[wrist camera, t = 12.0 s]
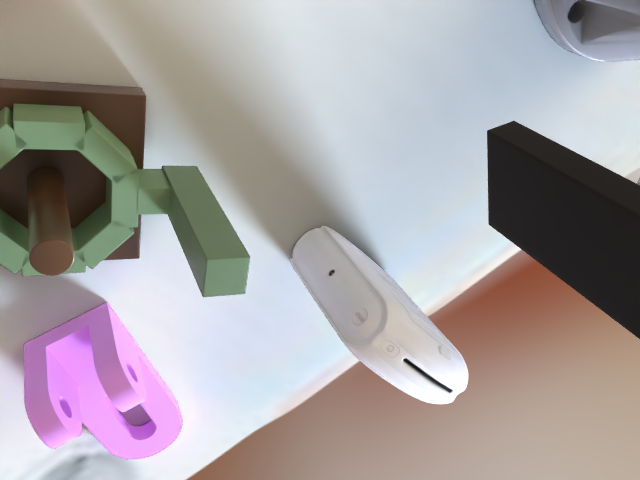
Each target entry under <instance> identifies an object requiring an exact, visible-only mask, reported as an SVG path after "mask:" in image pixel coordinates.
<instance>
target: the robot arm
mask: <svg viewBox="0 0 640 480" xmlns="http://www.w3.org/2000/svg"><path fill="white" fill-rule="evenodd" d="M535 4H536V8H537V11H538V14H539V17H540V19H541V21H542V24H543V25H544V27H545V29H546V31H547V32H548V33H549V35H550V36H551V37H552V39H553V40H555V41H556V42H557V43H558V44H559V45H560V46H562V47H563V48H564V49H566V50H568V51H570V52H572V53H575V54H578V55H581V56H584V57H587V58H590V59H593V60H598V61H613V62H615V61H630V60H640V0H535ZM487 145H488V209H489V225H490V226H492V227H493V228H494V229H496V230H497V231H498V232H500V233H501V234H502V235H503V236H505V237H506V238H507V239H509V240H510V241H511V242H513V243H514V244H515V245H517V246H518V247H519V248H521V249H522V250H523V251H525V252H526V253H527V254H529V255H530V256H531V257H533V258H534V259H535V260H537V261H538V262H539V263H540V264H542V265H543V266H544V267H546V268H547V269H548V270H550V271H551V272H552V273H554V274H555V275H556V276H557V277H559V278H560V279H561V280H563V281H564V282H565V283H567V284H568V285H570V286H571V287H572V288H573V289H575V290H576V291H577V292H579V293H580V294H581V295H582V296H584V297H585V298H587V299H588V300H589V301H590V302H592V303H593V304H594V305H596V306H597V307H599V308H600V309H601V310H602V311H604V312H605V313H606V314H608V315H609V316H610V317H612V318H613V319H614V320H615V321H617V322H618V323H619V324H621V325H622V326H623V327H625V328H626V329H627V330H629V331H630V332H631V333H633V334H634V335H635V336H636V337H638V338H639V339H640V178H639V180H638V182H637V184H635V183H634V182H632V181H630V180H628V179H626V178H624V177H622V176H620V175H618V174H616V173H615V172H613V171H611V170H609V169H607V168H605V167H603V166H601V165H599V164H597V163H595V162H593V161H591V160H589V159H587V158H585V157H583V156H581V155H579V154H577V153H576V152H574V151H572V150H570V149H568V148H566V147H564V146H562V145H560V144H558V143H556V142H554V141H552V140H550V139H548V138H546V137H544V136H542V135H540V134H538V133H537V132H535V131H533V130H531V129H529V128H527V127H525V126H523V125H521V124H519V123H517V122H515V121H512V122H509V123H507V124H504V125H501V126H499V127H496V128H493V129H491V130H488V131H487Z"/></svg>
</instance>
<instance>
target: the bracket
mask: <svg viewBox="0 0 640 480" xmlns="http://www.w3.org/2000/svg"><path fill="white" fill-rule="evenodd" d="M106 395H107V396H108V397H107V396H106ZM109 399H110V400H109ZM24 401H25V408H26V412H27V415H28V418H29V420H30V423H31V425H32V427H33V429H34V430H35V432H36V433H37V435H38V436H39V438H40V439H41V440H42V441H43V442H44V443H45V444H46V445H47V446H48V447H50V448H53V449H55V448H58V447H60V446H61V445H63V444H65V443H67V442H69V441H71V440H73V439H75V438H76V437H78V436H80V435H81V433H82V423H83V424H84V425H85V426H86V427H87V428H88V429H89V431H90V432H91V433H92V434H93V435H94V436H95V437H96V438H97V440H98V441H99V442H100V443H101V444H102V445H103V446H104V447H105V448H106V450H107V451H108V452H110V453H111V454H113V455H114V456H117V457H120V458H124V459H140V458H145V457H149V456H152V455H154V454H157V453H159V452H161V451H162V450H164V449H165V448H167V447H168V446H169V445H171V444H172V443H173V442H174V441H175V439H176V438H177V437H178V435H179V433H180V431H181V428H182V416H181V412H180V409H179V405H178V402H177V400H176V398H175V397H174V395H173V394H172V393H171V391H170V390H169V388H168V387H167V386H166V384H165V383H164V381H163V380H162V378H161V377H160V376H159V374H158V373H157V371H156V370H155V369H154V367H153V366H152V364H151V363H150V362H149V360H148V359H147V357H146V356H145V355H144V353H143V352H142V350H141V349H140V348H139V346H138V345H137V343H136V342H135V341H134V339H133V338H132V336H131V335H130V333H129V332H128V331H127V329H126V328H125V326H124V325H123V324H122V322H121V321H120V319H119V318H118V317H117V315H116V314H115V312H114V311H113V310H112V308H111V307H110V305H109V304H108V303H107V302H106V303H104V304H102V305H100V306H98V307H96V308H94V309H92V310H90V311H88V312H86V313H84V314H82V315H80V316H78V317H76V318H74V319H72V320H70V321H68V322H66V323H64V324H62V325H60V326H58V327H56V328H54V329H52V330H50V331H48V332H46V333H44V334H42V335H40V336H38V337H36V338H34V339H32V340H30V341H28V342H26V343H24ZM138 404H140V405H141V406H142V407H143V409H144V410H145V411H146V412H147V414H148V415H149V416H150V418H151V420H150V421H149V422H148V423H146V424H144V425H142V426H133V425H131V424H129V423H128V422H127V420H126V419H125V418H124V417H123V415H122V414H121V413H120V412H119V411H121V412H125V411H127V410H129V409H131V408H132V407H134V406H136V405H138ZM118 410H119V411H118Z"/></svg>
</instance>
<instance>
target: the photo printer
mask: <svg viewBox="0 0 640 480" xmlns="http://www.w3.org/2000/svg"><path fill="white" fill-rule="evenodd" d="M290 261H291V264H292V266H293V268H294V270H295V271H296V273H297V274H298V276H299V277H300V279H301V280H302V282H303V283H304V285H305V286H306V288H307V289H308V291H309V292H310V294H311V295H312V297H313V298H314V300H315V301H316V303H317V304H318V306H319V307H320V309H321V310H322V312H323V313H324V315H325V316H326V318H327V319H328V321H329V322H330V324H331V325H332V327H333V328H334V330H335V331H336V333H337V334H338V336H339V337H340V339H341V340H342V341H343V343H344V344H345V346H346V347H347V348H348V349H349V350H350V351H351V352H352V354H353V355H354V356H356V357H357V358H358V359H359V360H360V361H361V362H362V363H364V364H365V365H366V366H367V367H369V368H370V369H371V370H373V371H374V372H375V373H376V374H378V375H379V376H380V377H382V378H383V379H385V380H386V381H388V382H389V383H391V384H392V385H394V386H395V387H397V388H398V389H400V390H402V391H404V392H405V393H407V394H409V395H411V396H413V397H415V398H417V399H419V400H422V401H425V402H428V403H433V404H446V403H451V402H453V401H454V399H455V397H456V396H457V395H458V394H459V393H461V392H463V391H464V390H465V389H466V387H467V383H468V370H467V366H466V364H465V361H464V359H463V357H462V355H461V354H460V353H459V351H458V350H457V349H456V348H455V347H454V346H453V345H452V344H451V342H450V341H449V340H448V339H447V338H446V337H445V336H444V335H443V334H442V333H441V332H440V331H439V330H438V328H436V326H435V325H434V324H433V323H432V322H431V321H430V320H429V319H428V317H427V316H426V315H425V314H424V313H423V312H422V311H421V310H420V309H419V307H418V306H417V305H416V304H415V303H414V302H413V301H412V300H411V298H410V297H409V296H408V295H407V294H406V293H405V292H404V291H403V289H402V288H401V287H400V286H399V285H398V284H397V282H396V281H395V280H394V279H393V278H392V277H391V276H390V275H388V274H387V273H386V272H385V271H384V270H383V269H382V268H381V267H379V266H378V265H377V264H376V263H375V262H374V261H373V260H371V259H370V258H369V257H368V256H367V255H365V254H364V253H363V252H362V251H361V250H359V249H358V248H357V247H356V246H354V245H353V244H352V243H351V242H349V241H348V240H347V239H345V238H344V237H343V236H341V235H340V234H339V233H337V232H336V231H334V230H333V229H331V228H329V227H327V226H324V225H323V226H322V227H321V228H314V229H312V230H310V231H308V232H307V233H305V234H304V235H303V236H302V237H301V238H300V239H299V240H298V241H297V243H296V245H295V247H294V249H293V257H292V259H291V260H290Z"/></svg>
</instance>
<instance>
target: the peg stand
mask: <svg viewBox="0 0 640 480" xmlns="http://www.w3.org/2000/svg"><path fill="white" fill-rule="evenodd" d="M13 104H35V105H57V106H78V107H81V109H82V113H83V114H84V113H85V112H86V111H90V112H91V113H92V114H93V115H94V116H95V117H96V118H97V119H98V120H99V121H100V122H101V123H102V124H103V125H104V126H105V127H106V128H107V129H109V130H110V131H111V132H112V133H113V134H114V135H115V136H116V137H117V138H118V139H119V140H120V141H121V142H122V143H123V144H124V145H125V146H126V147H127V148H128V149H129V150H130V152H131V155H132V156H133V158H134V161H135V163H136V166H137V169H143V159H144V135H145V111H146V95H145V93H144V91H143V90H142V88H137V87H121V86H104V85H88V84H72V83H55V82H39V81H23V80H6V79H0V111H1V110H2V109H3V108H4V107H8V108H9V109H10V110H11V111H12V112H13ZM104 202H106V175H105V174H103V173H102V172H101V171H100V170H99V169H98V168H97V167H96V166H94V165H93V164H92V163H91V162H90V161H89V160H88V159H87V158H85V157H84V156H83V155H82V154H81V153H80V152H79V151H78V150H49V149H23V150H22V151H21V152H20V153H18V154H17V155H16V156H15V157H14V158H13V159H12V160H10V161H9V162H8V163H7V164H6V165H5V166H3V167H2V168H1V169H0V209H2V210H3V211H4V212H6V213H7V214H8V215H10V216H11V217H12V218H14V219H15V220H16V221H18V222H19V223H20V224H22V225H23V226H25V227H26V228H27V229H28V238H29V261H30V264H31V266H32V267H33V268H34V269H35V270H36V271H37V272H39V273H41V274H44V275H58V274H61V273H64V272H65V271H67V270H68V269H69V268H70V267H71V266H72V264H73V262H74V259H75V254H74V247H73V240H72V233H71V228H75V227H77V226H78V225H79V224H80V223H81V222H82V221H84V220H85V219H86V218H87V217H88V216H89V215H91V214H92V213H93V212H94V211H95V210H96V209H97V208H99V207H100V206H101V205H102V204H103V203H104ZM133 229H134V234H133V235H131V236H130V237H129V238H128V239H127V240H126V241H125V242H123V243H122V244H121V245H120V246H119V247H118V248H116V249H115V250H114V251H113V252H112V253H111V254H109V255H108V256H107V257H106V258H105V259H104V260H116V259H136V258H139V254H140V230H141V214H140V215H138V227H133ZM0 265H1V264H0Z"/></svg>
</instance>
